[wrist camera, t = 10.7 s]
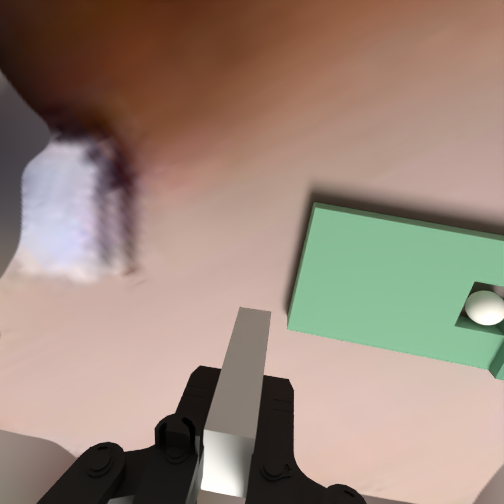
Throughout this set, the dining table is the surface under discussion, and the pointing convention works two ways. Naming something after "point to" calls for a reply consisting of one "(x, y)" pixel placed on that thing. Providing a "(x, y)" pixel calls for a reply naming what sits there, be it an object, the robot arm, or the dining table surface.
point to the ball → (485, 307)
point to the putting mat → (397, 285)
